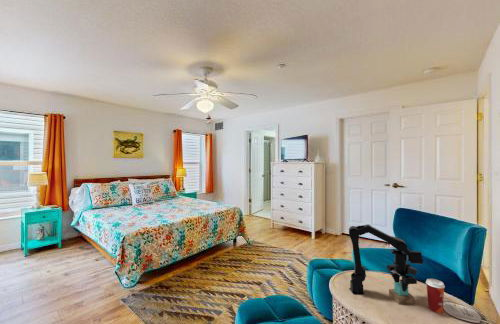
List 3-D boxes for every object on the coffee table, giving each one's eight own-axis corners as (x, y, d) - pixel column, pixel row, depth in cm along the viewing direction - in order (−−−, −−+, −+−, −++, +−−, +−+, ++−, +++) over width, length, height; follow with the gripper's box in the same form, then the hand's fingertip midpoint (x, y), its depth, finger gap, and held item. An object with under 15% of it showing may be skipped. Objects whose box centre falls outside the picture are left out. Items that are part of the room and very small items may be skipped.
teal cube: (399, 295, 134) (399, 286, 134) (394, 290, 139) (394, 282, 139) (408, 295, 134) (408, 286, 134) (402, 290, 139) (402, 282, 139)
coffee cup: (446, 316, 121) (446, 287, 121) (426, 311, 125) (426, 282, 125) (444, 307, 128) (443, 280, 128) (425, 303, 132) (424, 276, 132)
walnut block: (398, 304, 132) (398, 297, 132) (389, 295, 141) (388, 289, 141) (414, 304, 132) (414, 297, 132) (404, 295, 141) (403, 288, 141)
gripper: (426, 268, 127) (427, 297, 127) (403, 255, 146) (404, 280, 146) (405, 268, 127) (406, 297, 127) (385, 255, 146) (386, 280, 146)
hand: (401, 288), depth 137 cm, fingers open, 6 cm apart
